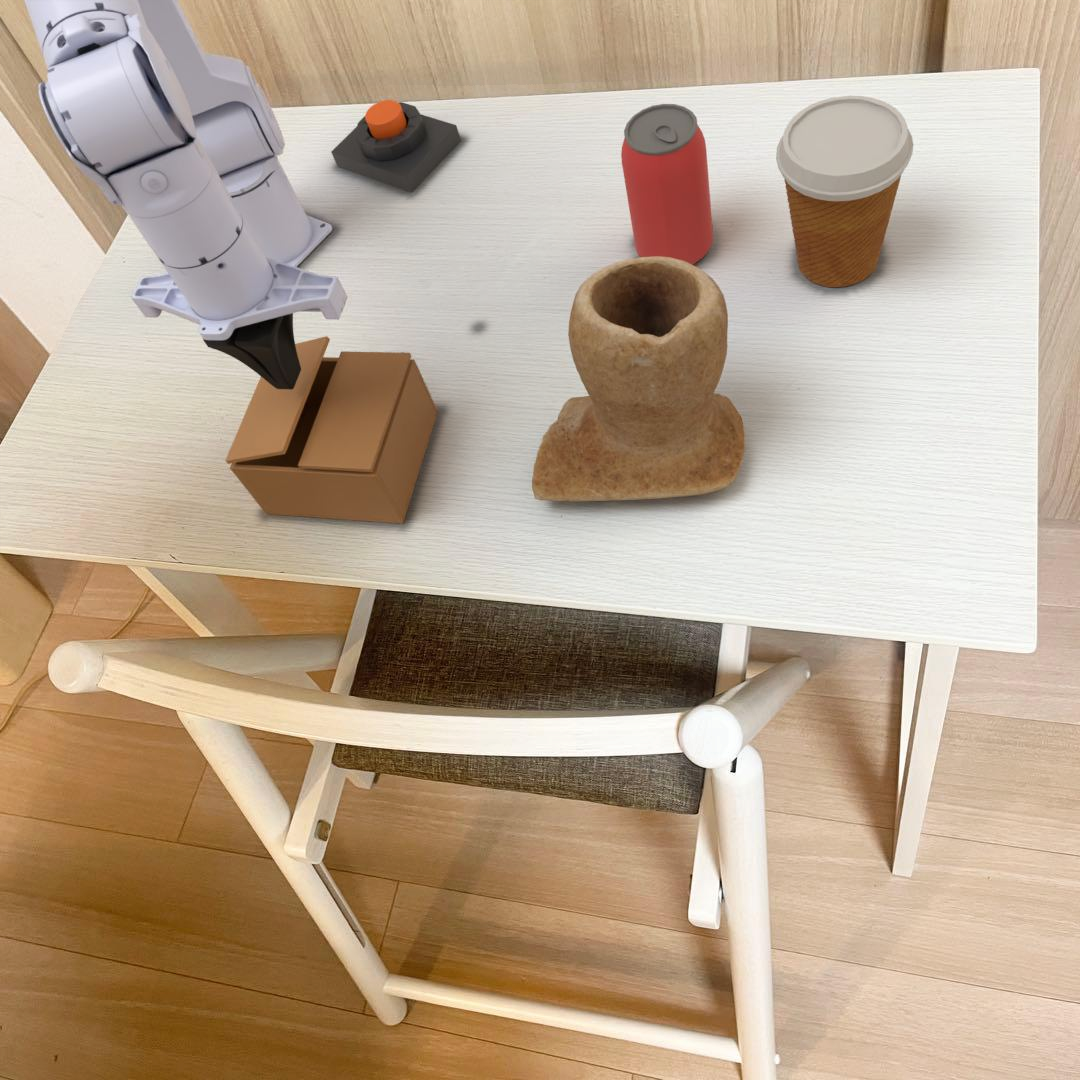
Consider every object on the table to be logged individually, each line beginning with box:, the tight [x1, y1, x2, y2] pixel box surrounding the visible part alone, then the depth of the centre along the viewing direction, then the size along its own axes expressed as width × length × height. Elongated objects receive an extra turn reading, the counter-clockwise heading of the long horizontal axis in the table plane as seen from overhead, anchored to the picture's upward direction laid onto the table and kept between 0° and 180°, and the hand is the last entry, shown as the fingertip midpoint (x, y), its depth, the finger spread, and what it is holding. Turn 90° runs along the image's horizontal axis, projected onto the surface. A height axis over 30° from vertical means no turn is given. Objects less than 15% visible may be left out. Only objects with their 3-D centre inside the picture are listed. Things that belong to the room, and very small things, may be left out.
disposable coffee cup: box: [775, 95, 914, 288], centre depth 78 cm, size 10×10×12 cm
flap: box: [225, 335, 330, 465], centre depth 77 cm, size 6×11×1 cm, turn 168°
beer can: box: [620, 103, 714, 265], centre depth 83 cm, size 7×7×12 cm
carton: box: [229, 350, 439, 525], centre depth 80 cm, size 12×11×7 cm
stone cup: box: [531, 256, 746, 502], centre depth 71 cm, size 15×12×15 cm
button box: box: [330, 101, 462, 194], centre depth 101 cm, size 10×8×4 cm
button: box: [364, 99, 407, 139], centre depth 99 cm, size 4×4×2 cm
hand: (289, 378), depth 74 cm, fingers closed
